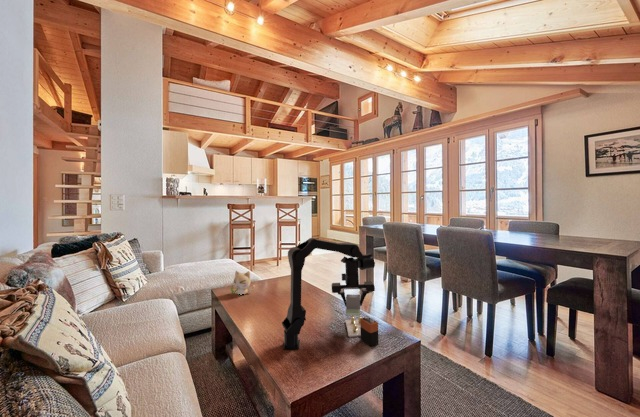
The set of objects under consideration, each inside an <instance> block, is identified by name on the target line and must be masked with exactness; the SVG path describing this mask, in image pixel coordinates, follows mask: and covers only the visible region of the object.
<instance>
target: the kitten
mask: <svg viewBox="0 0 640 417" xmlns="http://www.w3.org/2000/svg"><path fill="white" fill-rule="evenodd" d="M250 272H251V271H250V270H249V271H246V272H241V273H240V272H239V271H238V270H235V272H234V273H235V274H234V279H233V285H232V286H231V288H230V291H231V294H232V293H233V292H234V293H235V292H236V291H237V292H236V295H237V294H240V295H242V294H244V295H246V294H248V293H250V292H252V291H253V290H254V289H255V288H256V285H255V284H253V285H252V286H251V283H252V282H251V273H250ZM250 286H251V288H250V289H248V288H249V287H250ZM233 288H236V290H234V289H233ZM240 295H239V296H240ZM242 296H243V295H242Z"/></svg>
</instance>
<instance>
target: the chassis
mask: <svg viewBox="0 0 640 417" xmlns="http://www.w3.org/2000/svg"><path fill="white" fill-rule="evenodd" d="M361 318H363V316H361V315H358V319H356V318H355V316H351V317H350V319H345V326H346V331H347V335H348V337H349V338H350V337H351V338H352V337H361V326H360V319H361Z"/></svg>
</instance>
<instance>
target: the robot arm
mask: <svg viewBox="0 0 640 417" xmlns="http://www.w3.org/2000/svg"><path fill="white" fill-rule="evenodd" d="M315 249H319V250H323V251H324V250H325V251H328V252H329V251H330V252H336V253H340V254H342V255H344V256H343V258H341V259H340V262H341V263H344V264H345V265H344V266H345V267H344V268H345V273H341V281H343V282H344V283H345V284H341V282H332V283H331V293H333V294H337V295H339V296H340V297H341V298H342V301H343V303H344V307H346V293H345V290H360V307H362V306H363V304H364V303H363V302H364V301H365V298H366V297H367V295H368V294H369V293H370V292H375V291H376V290H375V289H376V288H375V286H376V285H375V284H374V282H372V281H370V280H369V281H363V284H362V283H360V278H359V277H360V276H359V275H360V274H359V270H361V271H365V270H370V269H375V266H376V262H375V260H374V258H373V255H372V254H371V253H366V254H363V253H362V252H361V250H360V246H359V245H357V244H355V243H352V242H333V241H327V240H324V239H323V240H322V239H316V238H314V237H309V238H308V239H306V240H305V241H303V242H302V243H299V244H298V245H296V246H293V247H290V249H289V250H288V251H287V258H288V263H289V267H290V302H289V303H290V304H289V306H288V309H287V313H286V317H285V318H284V320H283V321H282V322H281V325H282V327H283V329H284V330H283V336H284V337H283V339H284V340H283V344H282V350H283V351H284V350H285V351H287V350H289V351H290V350H291V351H292V350H299V349H300V344H301V340H300V339H299V335H300V333H301V330H302V327H303V326H304V325H305V321H307V319H306V315H307V314H306V313H307V310H306V309H305V308H304V306H303V305H302V276H303V275H302V270H303V268H304V265H305V262H306V258H307V257H308V256H310V255H311V253H313V251H314V250H315ZM347 256H348V257H347Z"/></svg>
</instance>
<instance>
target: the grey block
mask: <svg viewBox="0 0 640 417" xmlns="http://www.w3.org/2000/svg"><path fill="white" fill-rule="evenodd" d="M360 296H361V294H349V293H348V294H345V298H346V306H345V307H346V310H345V315H346V316H361V306H360Z"/></svg>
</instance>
